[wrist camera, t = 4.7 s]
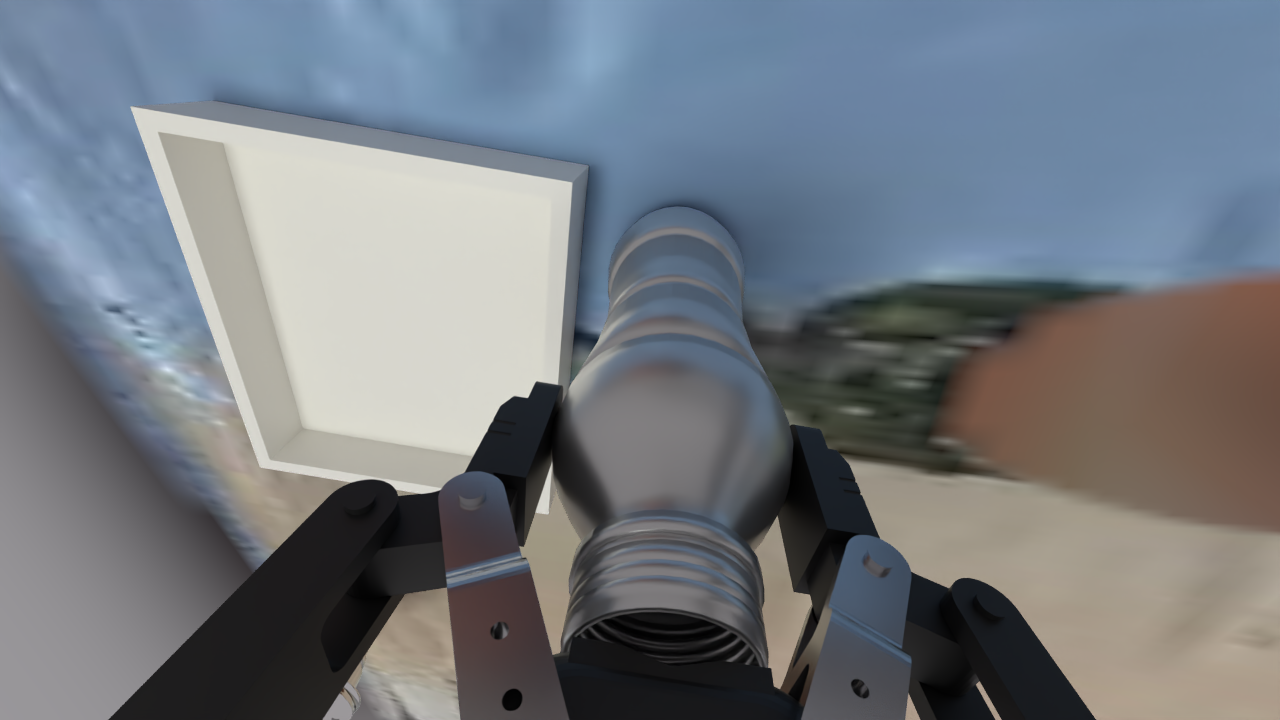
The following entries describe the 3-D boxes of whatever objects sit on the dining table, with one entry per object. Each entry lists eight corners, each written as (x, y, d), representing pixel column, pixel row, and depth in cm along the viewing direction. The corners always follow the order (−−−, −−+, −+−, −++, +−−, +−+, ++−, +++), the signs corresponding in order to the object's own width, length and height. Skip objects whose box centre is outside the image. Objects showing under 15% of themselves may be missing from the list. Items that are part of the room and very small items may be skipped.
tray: (212, 100, 23) (130, 106, 19) (589, 165, 23) (572, 182, 20) (303, 426, 33) (260, 467, 30) (562, 469, 34) (548, 514, 30)
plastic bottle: (743, 194, 23) (912, 544, 6) (735, 320, 27) (827, 769, 10) (610, 197, 24) (424, 527, 7) (619, 320, 27) (511, 745, 10)
